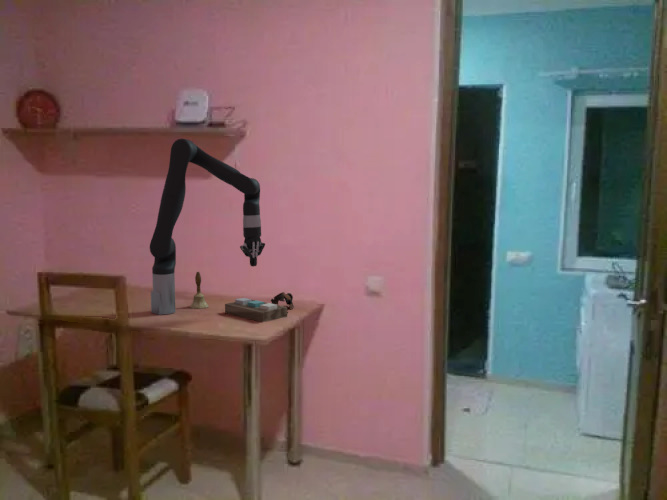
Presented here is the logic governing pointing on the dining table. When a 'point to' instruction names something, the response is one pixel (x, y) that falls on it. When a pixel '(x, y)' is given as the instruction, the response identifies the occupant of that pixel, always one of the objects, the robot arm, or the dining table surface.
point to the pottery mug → (281, 297)
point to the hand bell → (198, 295)
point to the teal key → (255, 303)
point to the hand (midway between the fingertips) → (253, 266)
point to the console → (255, 312)
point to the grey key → (242, 301)
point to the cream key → (268, 306)
